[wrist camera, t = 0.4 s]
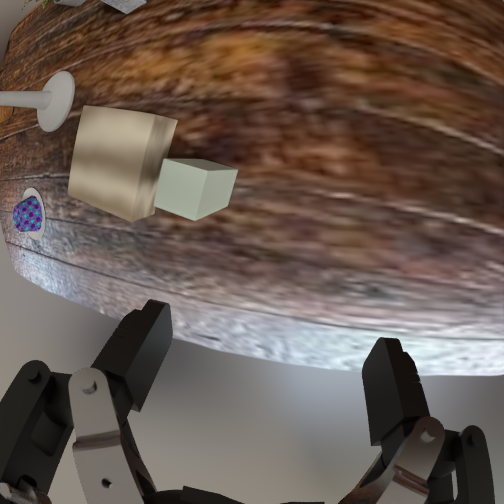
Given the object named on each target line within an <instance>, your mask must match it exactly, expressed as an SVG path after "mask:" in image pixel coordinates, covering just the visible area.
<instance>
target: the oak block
mask: <svg viewBox="0 0 504 504" xmlns="http://www.w3.org/2000/svg"><path fill="white" fill-rule="evenodd" d="M176 124H177V120H175V119H171V118H167V117H163V116H159V115H155V114H149V113H143V112H136V111H129V110H122V109H114V108H105V107H96V106H84V107H83V111H82V115H81V119H80V123H79V128H78V132H77V137H76V142H75V147H74V152H73V158H72V165H71V171H70V179H69V187H68V195H70V196H72V197H74V198H76V199H79V200H81V201H83V202H86V203H88V204H90V205H93V206H95V207H97V208H100V209H102V210H104V211H107V212H109V213H111V214H114V215H116V216H118V217H121V218H123V219H125V220H128V221H130V222H133V221H136V220H138V219H141V218H144V217H147V216H150V215H153V214H154V212H155V206H153V205H154V200H155V195H156V190H157V186H158V181H159V177H160V172H161V168H162V164H163V159H167V156H168V152H169V148H170V145H171V141H172V137H173V134H174V130H175V127H176Z"/></svg>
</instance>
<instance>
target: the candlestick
mask: <svg viewBox="0 0 504 504" xmlns="http://www.w3.org/2000/svg"><path fill="white" fill-rule="evenodd" d="M74 92H75V83H74V79H73V76H72V75H71V74H70V73H69V72H66V71H61V72H58V73H57V74H55V75H54V76H53V77H52V78H51V79H50V80H49V81H48V82H47V84H46V85H45V87H44V88H43V90H42V91H4V92H0V105H2V106H17V107H28V108H36V109H37V117H38V122H39V125H40V127H41V128H42V129H43V130H44V131H46V132H52V131H55V130H56V129H58V128H59V127H60V126H61V125H62V123H63V122H64V121H65V119H66V117H67V115H68V113H69V111H70V108H71V106H72V102H73V98H74Z"/></svg>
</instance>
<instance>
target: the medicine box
mask: <svg viewBox="0 0 504 504" xmlns="http://www.w3.org/2000/svg"><path fill="white" fill-rule="evenodd" d="M101 1H103V2H105V3H107V4H109V5H111V6H112V7H114V8H116V9H118V10H120V11H122V12H124V13H125V14H128V13H129V12H131V11H133V10H135V9H136V8H138V7H140V6H141V5H143V4H145V3H146V2H147V1H146V0H101Z"/></svg>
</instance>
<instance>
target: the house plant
mask: <svg viewBox="0 0 504 504" xmlns="http://www.w3.org/2000/svg"><path fill="white" fill-rule="evenodd" d="M28 1H31V0H28ZM28 1H27V2H28ZM37 1H38V0H36V2H37ZM49 1H50V0H46V1H45V2H44V3H43V4H42V8H43V9H44V7H47V5H48V3H49ZM85 1H86V0H54V3H56V4H63V5H69V6H75V7H78V6H80V5H82V4H83V3H84V2H85ZM27 2H26V3H27ZM22 10H23V9H22Z"/></svg>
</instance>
